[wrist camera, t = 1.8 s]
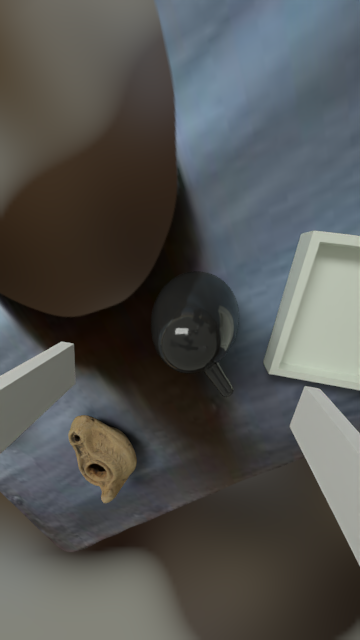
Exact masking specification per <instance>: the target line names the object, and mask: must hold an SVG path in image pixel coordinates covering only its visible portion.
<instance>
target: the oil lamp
mask: <svg viewBox="0 0 360 640" xmlns="http://www.w3.org/2000/svg"><path fill="white" fill-rule="evenodd" d="M68 436H69V441H70V443H71V445H72V446H73V448H74V450H75V452H76V456H77V460H78V466H79V469H80V471H81V473H82V475H83V476H84V477H85V478H86V480H87V481H89V482H90V483H92V484H94V485H97V486H100V488H101V490H102V495H101V499H102V501H103V502H104V503H107V502H110V501H111V500H113V499H114V498H115V497H116V495H117V493H118V492H119V490H120V489H121V487H122V486H123V484H124V483H125V482H126V480H127V479H128V477H129V475H130V474H131V473H132V472H133V471H134V470H135V468H136V463H137V458H136V454H135V451H134V449H133V446H132V444H131V443H130V441H129V440H128V438H127V437H126V436H125V434H124V433H122V432H121V431H120V430H118V429H116V428H113V427H109V426H107V425H106V424H104V423H102V422H101V421H99V420H97V419H95V418H93V417H91V416H85V415H82V416H77V417H76V418H75V419H74V421H73V422H72V425H71V429H70V431H69V435H68Z"/></svg>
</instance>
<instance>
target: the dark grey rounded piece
mask: <svg viewBox="0 0 360 640" xmlns="http://www.w3.org/2000/svg"><path fill="white" fill-rule="evenodd" d="M238 324H239V310H238V304H237V301H236V298H235V296H234V294H233V292H232V290H231V289H230V287H229V286H228V285H227V284H226V283H225V282H224V281H223V280H221V279H220V278H218V277H217V276H215V275H212V274H210V273H206V272H199V271H194V272H187V273H184V274H181V275H179V276H177V277H175V278H173V279H172V280H171V281H169V282H168V283H167V284H166V285H165V286H164V287H163V289H162V290H161V291H160V293H159V295H158V297H157V299H156V301H155V303H154V306H153V310H152V315H151V334H152V340H153V343H154V346H155V349H156V351H157V353H158V355H159V356H160V358H161V359H162V360H163V362H164V363H165V364H167V365H168V366H169V367H170V368H172V369H173V370H175V371H178V372H180V373H185V374H195V373H200V372H204V373H205V374H206V375H207V376H208V378H209V379H210V380H211V381H212V383H213V384H214V385H215V387H216V388H217V389H218V390H219V392H220V393H221V394H222V396H224V397H228V396H230V395H231V394H232V393H233V391H234V389H233V387H232V385H231V383H230V382H229V380H228V378H227V377H226V375H225V373H224V372H223V370H222V368H221V366H220V365H219V362H220V361H221V360H222V359H223V358H224V357H225V356H226V354H227V353H228V351H229V350H230V348H231V347H232V345H233V342H234V340H235V337H236V334H237V330H238Z"/></svg>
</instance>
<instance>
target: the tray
mask: <svg viewBox="0 0 360 640" xmlns="http://www.w3.org/2000/svg"><path fill="white" fill-rule="evenodd" d="M263 364H264V366H265V368H266V369H267V371H268V373H269V374H273V375H278V376H284V377H289V378H295V379H300V380H306V381H311V382H317V383H322V384H328V385H333V386H339V387H344V388H350V389H355V390H360V236H356V235H347V234H338V233H330V232H321V231H310V232H307V233H303V234H301V236H300V239H299V243H298V246H297V249H296V253H295V256H294V260H293V263H292V266H291V270H290V273H289V277H288V280H287V283H286V287H285V290H284V293H283V297H282V300H281V304H280V307H279V310H278V314H277V317H276V320H275V324H274V327H273V331H272V334H271V337H270V341H269V344H268V347H267V351H266V354H265V358H264V361H263Z"/></svg>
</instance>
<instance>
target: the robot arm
mask: <svg viewBox="0 0 360 640" xmlns="http://www.w3.org/2000/svg"><path fill="white" fill-rule="evenodd" d="M74 384H75V361H74V344H71V343H66V342H60V343H59V344H57V345H55V346H53V347H51V348H50V349H48V350H46V351H44V352H42V353H41V354H39V355H37V356H35V357H33V358H32V359H30V360H28V361H26V362H25V363H23V364H21V365H19V366H17V367H16V368H14V369H12V370H10V371H8V372H7V373H5V374H3V375H1V376H0V454H1V453H2V452H3V451H4V450H5V449H6V448H7V447H8V446H9V445H10V444H11V443H12V442H14V441H15V440H16V439H17V438H18V437H19V436H20V435H21V434H22V433H23V432H24V431H25V430H26V429H27V428H28V427H30V426H31V425H32V424H33V423H34V422H35V421H36V420H37V419H38V418H39V417H40V416H41V415H42V414H43V413H44V412H46V411H47V410H48V409H49V408H50V407H51V406H52V405H53V404H54V403H55V402H56V401H57V400H58V399H59V398H61V397H62V396H63V395H64V394H65V393H66V392H67V391H68V390H69V389H70V388H71V387H72V386H73V385H74ZM290 428H291V430H292V432H293V434H294V436H295V438H296V440H297V442H298V444H299V446H300V448H301V450H302V452H303V454H304V456H305V458H306V460H307V462H308V464H309V466H310V468H311V470H312V472H313V474H314V476H315V478H316V480H317V482H318V484H319V486H320V488H321V490H322V492H323V494H324V496H325V498H326V500H327V502H328V504H329V506H330V508H331V510H332V512H333V514H334V516H335V517H336V520H337V522H338V524H339V525H340V528H341V530H342V532H343V533H344V536H345V537H346V539H347V542H348V543H349V545H350V547H351V549H352V551H353V553H354V555H355V557H356V559H357V561H358V563H359V565H360V433H359V432H358V431H357V430H356V429H355V428H354V426H353V425H352V424H351V423H350V422H349V421H348V420H347V419H346V417H345V416H344V415H343V414H342V413H341V412H340V411H339V410H338V409H337V407H336V406H335V405H334V404H333V403H332V402H331V401H330V400H329V398H328V397H327V396H326V395H325V394H324V393H323V392H322V391H321V389H319V388H314V387H308V386H305V387H304V389H303V392H302V395H301V397H300V400H299V403H298V405H297V408H296V410H295V413H294V416H293V418H292V421H291V424H290Z"/></svg>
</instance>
